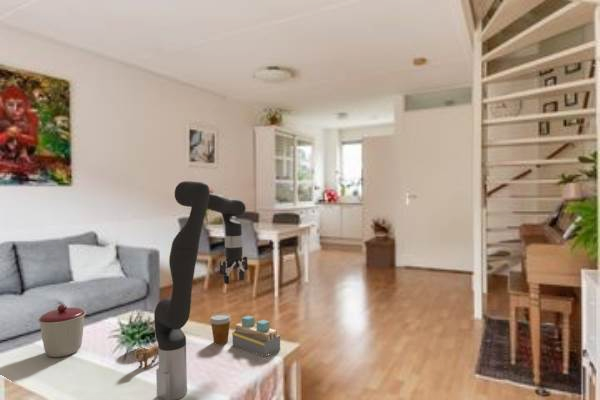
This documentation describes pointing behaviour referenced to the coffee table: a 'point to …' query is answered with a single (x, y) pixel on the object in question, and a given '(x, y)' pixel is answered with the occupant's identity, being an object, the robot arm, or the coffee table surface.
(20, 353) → the coffee table surface
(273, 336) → the pallet
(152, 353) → the lion figurine
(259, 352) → the block
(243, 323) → the block
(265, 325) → the teal cube
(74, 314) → the canister
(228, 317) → the disposable coffee cup
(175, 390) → the robot arm
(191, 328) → the coffee table surface
